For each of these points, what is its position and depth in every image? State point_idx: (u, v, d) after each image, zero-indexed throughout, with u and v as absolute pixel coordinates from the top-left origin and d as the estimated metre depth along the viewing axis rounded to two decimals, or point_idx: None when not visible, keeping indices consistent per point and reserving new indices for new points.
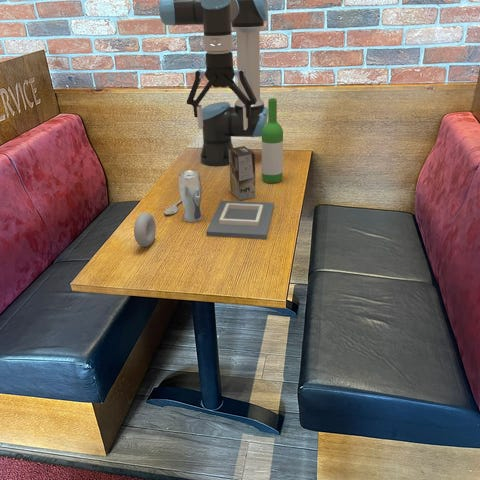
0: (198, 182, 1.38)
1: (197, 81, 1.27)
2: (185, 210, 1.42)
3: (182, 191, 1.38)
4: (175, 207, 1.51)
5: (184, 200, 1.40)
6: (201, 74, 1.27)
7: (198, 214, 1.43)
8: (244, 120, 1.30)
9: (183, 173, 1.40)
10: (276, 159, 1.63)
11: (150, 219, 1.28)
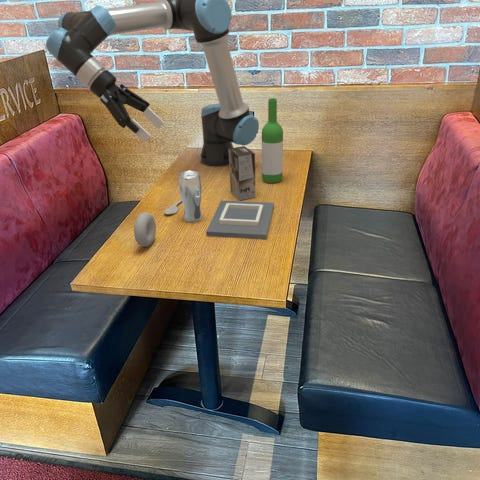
0: (198, 182, 1.38)
1: None
2: (185, 210, 1.42)
3: (182, 191, 1.38)
4: (175, 207, 1.51)
5: (184, 200, 1.40)
6: None
7: (198, 214, 1.43)
8: None
9: (183, 173, 1.40)
10: (276, 159, 1.63)
11: (150, 219, 1.28)
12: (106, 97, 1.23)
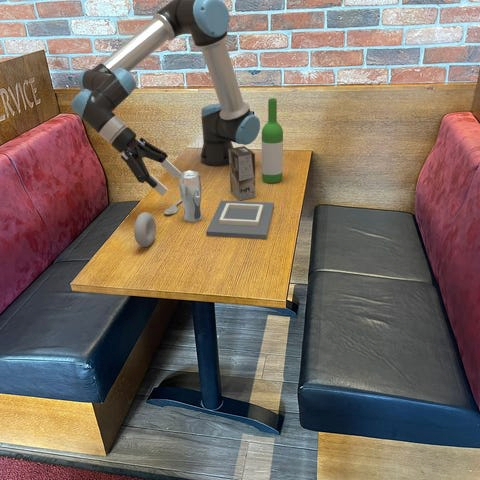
0: (198, 182, 1.38)
1: None
2: (185, 210, 1.42)
3: (182, 191, 1.38)
4: (175, 207, 1.51)
5: (184, 200, 1.40)
6: None
7: (198, 214, 1.43)
8: None
9: (183, 173, 1.40)
10: (276, 159, 1.63)
11: (150, 219, 1.28)
12: (127, 155, 1.30)
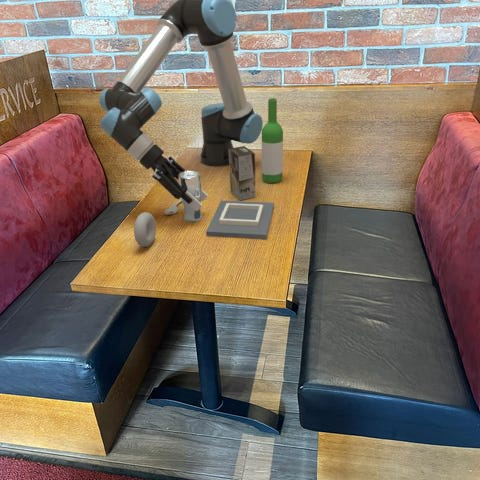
0: (198, 182, 1.38)
1: None
2: (185, 210, 1.42)
3: None
4: (175, 207, 1.51)
5: None
6: None
7: (198, 214, 1.43)
8: None
9: (183, 173, 1.40)
10: (276, 159, 1.63)
11: (150, 219, 1.28)
12: (159, 175, 1.33)
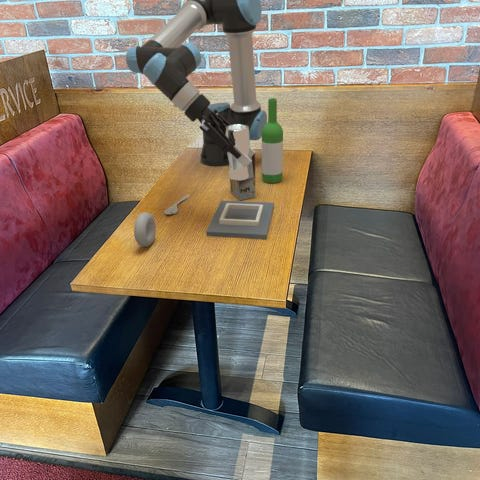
0: (247, 135, 1.28)
1: None
2: (231, 167, 1.32)
3: None
4: (175, 207, 1.51)
5: (231, 155, 1.30)
6: None
7: (245, 172, 1.33)
8: None
9: (230, 127, 1.30)
10: (276, 159, 1.63)
11: (150, 219, 1.28)
12: (207, 126, 1.23)
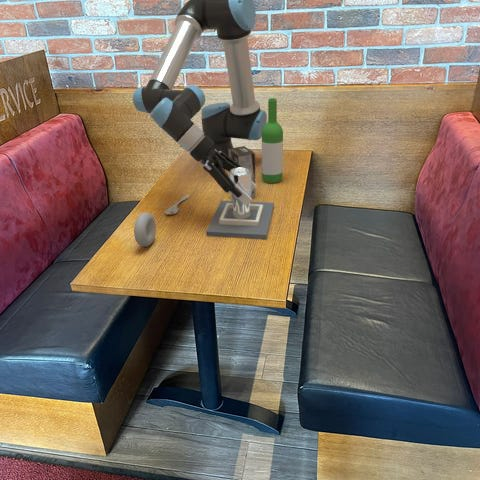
0: (250, 179, 1.34)
1: None
2: (235, 208, 1.39)
3: None
4: (176, 207, 1.51)
5: (235, 197, 1.37)
6: None
7: (248, 212, 1.40)
8: None
9: (233, 170, 1.37)
10: (276, 158, 1.63)
11: (150, 219, 1.28)
12: (210, 166, 1.28)
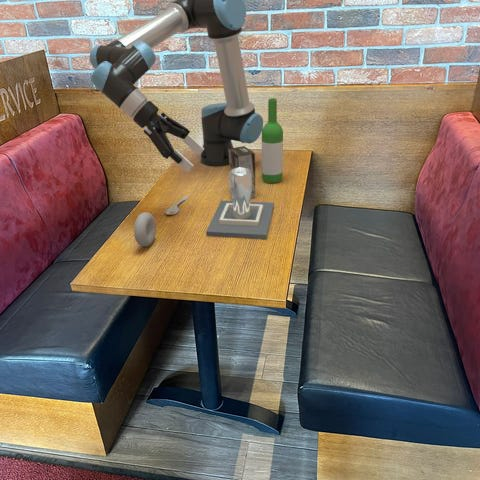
0: (250, 179, 1.34)
1: None
2: (235, 208, 1.39)
3: (233, 188, 1.35)
4: (176, 207, 1.51)
5: (235, 197, 1.37)
6: None
7: (248, 212, 1.40)
8: None
9: (233, 170, 1.37)
10: (276, 159, 1.63)
11: (150, 219, 1.28)
12: (150, 129, 1.25)
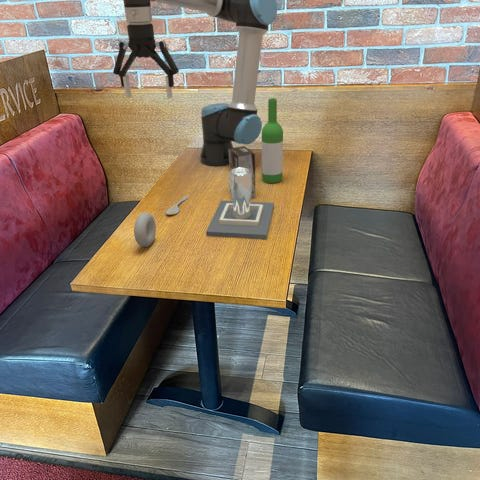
0: (250, 179, 1.34)
1: (121, 51, 1.36)
2: (235, 208, 1.39)
3: (233, 188, 1.35)
4: (176, 207, 1.51)
5: (235, 197, 1.37)
6: (125, 45, 1.35)
7: (248, 212, 1.40)
8: (167, 89, 1.39)
9: (233, 170, 1.37)
10: (276, 159, 1.63)
11: (150, 219, 1.28)
12: (165, 44, 1.35)
